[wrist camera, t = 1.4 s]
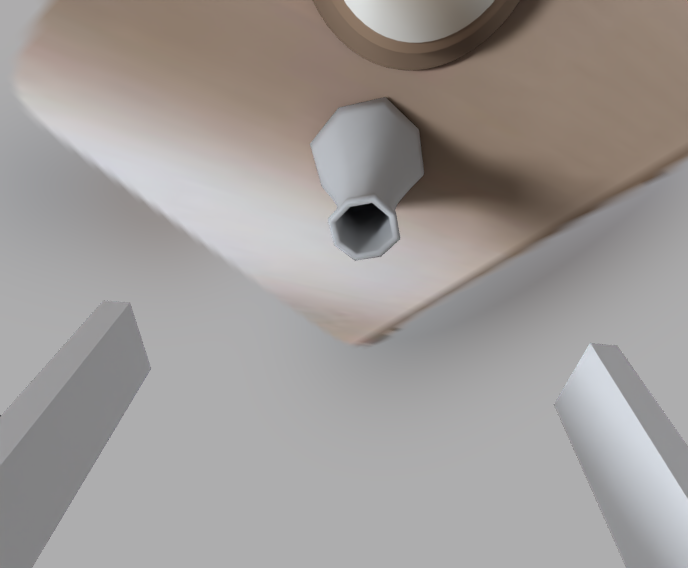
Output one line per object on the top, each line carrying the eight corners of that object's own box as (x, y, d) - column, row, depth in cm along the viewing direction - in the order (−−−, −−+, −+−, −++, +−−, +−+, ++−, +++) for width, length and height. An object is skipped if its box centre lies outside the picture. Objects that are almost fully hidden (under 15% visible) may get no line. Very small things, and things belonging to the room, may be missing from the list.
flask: (442, 177, 27) (470, 257, 18) (349, 225, 29) (338, 314, 21) (391, 72, 23) (399, 114, 15) (291, 137, 26) (252, 203, 18)
